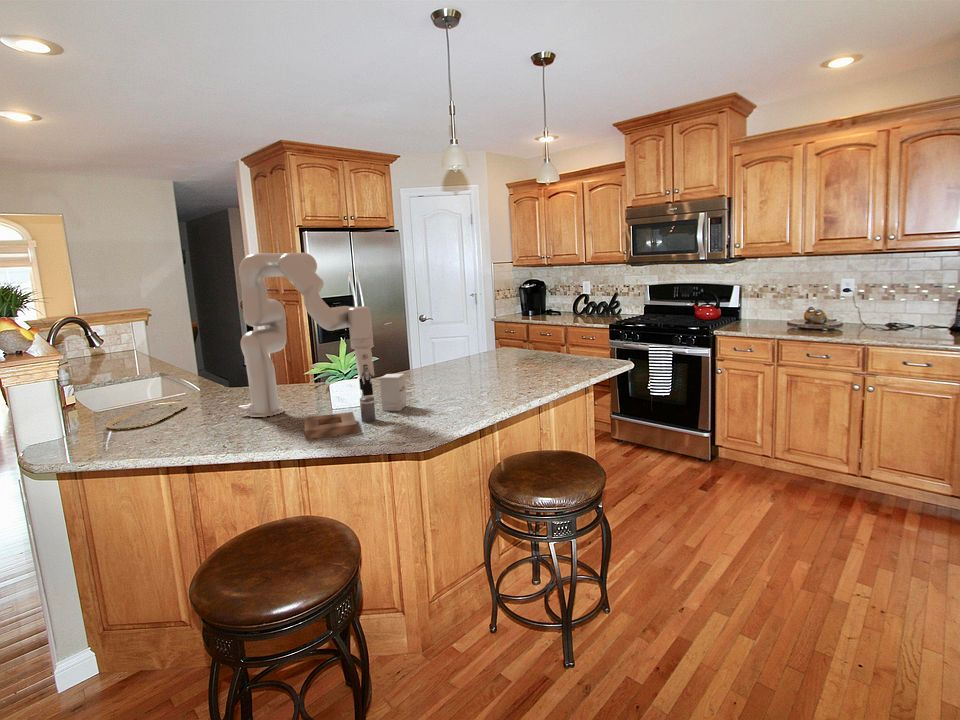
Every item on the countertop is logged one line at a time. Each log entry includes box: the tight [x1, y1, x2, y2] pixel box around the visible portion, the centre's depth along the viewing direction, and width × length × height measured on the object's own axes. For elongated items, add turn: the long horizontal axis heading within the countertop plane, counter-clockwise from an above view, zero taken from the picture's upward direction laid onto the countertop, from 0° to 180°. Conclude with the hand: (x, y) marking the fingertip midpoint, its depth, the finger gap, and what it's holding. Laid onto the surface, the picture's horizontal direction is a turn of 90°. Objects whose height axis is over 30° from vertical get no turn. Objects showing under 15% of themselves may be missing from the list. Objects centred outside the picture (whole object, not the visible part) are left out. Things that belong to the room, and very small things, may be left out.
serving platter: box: [105, 401, 188, 431], centre depth 205 cm, size 19×35×2 cm, turn 3°
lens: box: [359, 395, 377, 424], centre depth 184 cm, size 5×5×8 cm
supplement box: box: [379, 373, 407, 412], centre depth 199 cm, size 7×7×13 cm
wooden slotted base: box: [304, 411, 359, 440], centre depth 176 cm, size 16×16×3 cm
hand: (366, 392), depth 183 cm, fingers open, 9 cm apart
